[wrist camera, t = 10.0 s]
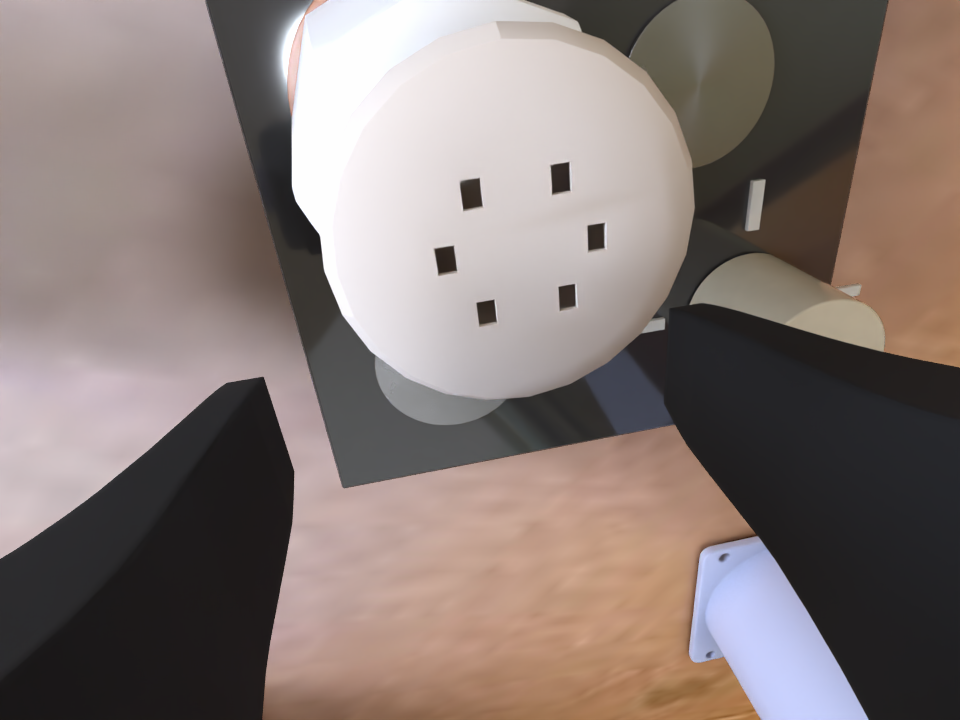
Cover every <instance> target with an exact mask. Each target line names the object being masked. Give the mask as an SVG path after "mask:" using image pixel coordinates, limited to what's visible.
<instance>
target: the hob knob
mask: <svg viewBox="0 0 960 720" xmlns="http://www.w3.org/2000/svg"><path fill="white" fill-rule="evenodd" d="M698 303H706V304H712V305H717V306H722V307H726V308H730V309H733V310H737V311H741V312H744V313H748V314H751V315H754V316H758V317H761V318H764V319H768V320H771V321H774V322H778V323H781V324H784V325H787V326H791V327H794V328H797V329H801V330H804V331H807V332H811V333H814V334H818V335H821V336H825V337H828V338H832V339H835V340H839V341H843V342H846V343H850V344H854V345H858V346H862V347H866V348H870V349H874V350H878V351H882V352H884V347H885V331H884V327H883V323H882V321H881V319H880V317H879V316H878V314H877V313H876V312H875V311H874V310H873V309H872V308H871V307H870V306H868V305H866V304H865V303H863V302H861V301H859V300H857V299H855V298H853V297H852V296H850V295H848V294H846V293H844V292H842V291H840V290H838V289H837V288H835V287H833V286H831V285H829V284H827V283H825V282H823V281H822V280H820V279H818V278H816V277H814V276H812V275H810V274H808V273H807V272H805V271H803V270H801V269H799V268H797V267H795V266H793V265H792V264H790V263H788V262H786V261H784V260H782V259H780V258H778V257H776V256H774V255H771V254H765V253H752V254H746V255H741V256H738V257H736V258H733V259H731V260H729V261H727V262H725V263H724V264H722V265H720V266H719V267H718V268H716V269H715V270H714V271H712V272H711V273H710V274H709V275H708V276H707V277H706V278H705V279H704V281H703V282H702V283H701V284H700V286H699V287H698V289H697V290H696V292H695V294H694V295H693V297H692V300H691V302H690V304H689V305H692V304H698Z"/></svg>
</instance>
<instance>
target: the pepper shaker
mask: <svg viewBox="0 0 960 720" xmlns="http://www.w3.org/2000/svg"><path fill="white" fill-rule="evenodd" d="M292 189H293V192H294V196H295V200H296V202H297V204H298V205H299V206H300V208H301V209H302V211H303V212H304V214H305V215H306V217H307V218H308V220H309V221H310V222H311V224H312V225H313V226H314V228H315V229H316V231H317V232H318V233H319V235H320V239H321V248H322V256H323V265H324V272H325V274H326V276H327V279H328V281H329V284H330V286H331V289H332V291H333V293H334V296H335V298H336V301H337V303H338V306H339V308H340V310H341V313H342V315H343V317H344V318H345V319H346V320H347V322H348V323H349V324H350V326H351V327H352V328H353V329H354V331H355V332H356V333H357V335H358V336H359V337H360V338H361V340H362V341H363V342H364V344H365V345H366V346H367V347H368V349H369V350H370V351H371V352H372V353H373V354H375V355H376V356H377V357H379V358H380V359H381V360H383V361H384V362H385V363H387V364H388V365H389V366H391V367H392V368H393V369H395V370H396V371H397V372H399V373H400V374H401V375H403V376H404V377H405V378H408V379H410V380H412V381H415V382H417V383H420V384H422V385H425V386H427V387H429V388H432V389H434V390H437V391H439V392H442V393H444V394H449V395H455V396H462V397H469V398H475V399H482V400H496V399H508V398H520V397H530V396H533V395H537V394H540V393H543V392H546V391H549V390H553V389H556V388H559V387H562V386H565V385H569V384H571V383H573V382H575V381H576V380H578V379H580V378H582V377H583V376H585V375H587V374H589V373H590V372H592V371H594V370H596V369H597V368H599V367H601V366H603V365H605V364H606V363H608V362H609V361H610V360H611V359H612V358H614V357H615V356H616V355H617V354H618V353H619V352H620V351H621V350H623V349H624V348H625V347H626V346H627V345H628V344H629V343H630V342H632V341H633V340H634V339H635V338H636V337H637V336H638V335H639V334H641V332H642V331H643V330H644V328H645V327H646V326H647V324H648V323H649V321H650V320H651V319H652V317H653V316H654V315H655V313H656V312H657V311H658V309H659V308H660V306H661V305H662V304H663V302H664V301H665V300H666V298H667V297H668V295H669V292H670V290H671V288H672V286H673V283H674V281H675V279H676V276H677V274H678V272H679V270H680V267H681V265H682V263H683V261H684V258H685V256H686V253H687V247H688V242H689V236H690V231H691V226H692V220H693V215H694V209H695V204H694V188H693V173H692V159H691V156H690V153H689V151H688V148H687V145H686V142H685V139H684V136H683V133H682V130H681V127H680V124H679V121H678V119H677V116H676V113H675V111H674V110H673V109H672V107H671V106H670V104H669V103H668V102H667V100H666V99H665V97H664V96H663V95H662V93H661V92H660V90H659V89H658V88H657V86H656V85H655V83H654V82H653V81H652V79H651V78H650V76H649V75H648V74H647V72H646V71H645V70H643V69H642V68H641V67H639V66H638V65H637V64H635V63H634V62H633V61H631V60H630V59H629V58H627V57H626V56H625V55H623V54H622V53H621V52H619V51H618V50H617V49H615V48H614V47H613V46H612V45H610V44H609V43H608V42H606V41H605V40H603V39H600V38H597V37H594V36H591V35H588V34H585V33H583V32H582V31H581V28H580V26H579V23H578V21H576V20H574V19H572V18H570V17H569V16H567V15H565V14H563V13H560V12H557V11H554V10H551V9H548V8H546V7H543V6H540V5H537V4H534V3H531V2H528V1H526V0H328V1H326V2H325V3H323V4H322V5H320V6H319V7H317V8H316V9H314V10H313V11H312V12H310V13H309V14H307V15H306V16H305V21H304V28H303V36H302V44H301V51H300V59H299V67H298V74H297V82H296V90H295V97H294V105H293V113H292Z"/></svg>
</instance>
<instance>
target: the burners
mask: <svg viewBox="0 0 960 720" xmlns="http://www.w3.org/2000/svg"><path fill="white" fill-rule="evenodd" d="M326 1H328V0H314V1H313V2H312V3H311V5H310V6H309V8H308V9H307V10H306V12H305V14H304V16H303V18H302V20H301V22H300V24H299V26H298V29H297V31H296V34H295V37H294V40H293V43H292V47H291V52H290V57H289V62H288V75H287V87H288V100H289V106H290V112H291V117H292V113H293V105H294V97H295V90H296V82H297V74H298V67H299V59H300V51H301V44H302V36H303V28H304V21H305V16H306V15H307V14H309V13H310V12H312V11H313V10H314V9H316V8H317V7H319V6H320V5H322V4H323V3H325V2H326ZM626 57H627V58H629V59H630V60H631V61H633V62H634V63H635V64H637V65H638V66H639V67H641V68H642V69H643V70H645V71H646V72H647V74H648V75H649V76H650V78H651V79H652V81H653V82H654V83H655V85H656V86H657V88H658V89H659V90H660V92H661V93H662V95H663V96H664V97H665V99H666V100H667V102H668V103H669V104H670V106H671V107H672V109H673V110H674V111H675V113H676V116H677V119H678V121H679V124H680V127H681V130H682V133H683V136H684V139H685V142H686V145H687V148H688V151H689V153H690V156H691V159H692V168H697V167H701V166H704V165H707V164H710V163H712V162H714V161H716V160H718V159H720V158H722V157H723V156H725V155H726V154H728V153H729V152H731V151H732V150H733V149H734V148H735V147H737V146H738V145H739V144H740V143H741V142H742V141H743V140H744V139H745V138H746V136H747V135H748V134H749V133H750V131H751V130H752V129H753V127H754V126H755V124H756V123H757V121H758V120H759V118H760V116H761V114H762V112H763V110H764V108H765V106H766V103H767V101H768V98H769V95H770V91H771V88H772V83H773V78H774V67H775V59H774V48H773V42H772V39H771V35H770V32H769V30H768V27H767V25H766V23H765V21H764V20H763V18H762V17H761V15H760V13H759V12H758V11H757V10H756V9H755V8H754V7H753V6H752V5H751V4H750V3H748V2H747V1H746V0H674V1H672V2H670V3H669V4H667V5H666V6H664V7H663V8H662V9H660V10H659V11H658V12H657V13H656V14H655V15H654V16H652V17H651V19H650V20H649V21H648V22H647V23H646V24H645V25H644V26H643V28H642V29H641V31H640V32H639V33H638V35H637V36H636V38H635V40H634V42H633V43H632V45H631V47H630V49H629V51H628V54H627V56H626ZM374 367H375V374H376V378H377V381H378V384H379V386H380V388H381V391H382V392H383V394H384V395H385V397H386V398H387V400H388V401H389V402H390V403H391V404H392V405H393V406H394V407H395V408H397V409H398V410H399V411H400V412H402V413H403V414H405V415H406V416H408V417H411V418H413V419H415V420H418V421H421V422H424V423H428V424H433V425H456V424H462V423H466V422H470V421H473V420H476V419H479V418H481V417H483V416H485V415H487V414H488V413H490V412H492V411H493V410H495V409H496V408H497V407H499V406H500V405H501V404H502V403H503V402H504V401H505V400H506V399H496V400H482V399H475V398H469V397H462V396H455V395H449V394H444V393H442V392H439V391H437V390H434V389H432V388H429V387H427V386H425V385H422V384H420V383H417V382H415V381H412V380H410V379H408V378H405V377H404V376H403V375H401V374H400V373H399V372H397V371H396V370H395V369H393V368H392V367H391V366H389V365H388V364H387V363H385V362H384V361H383V360H381V359H380V358H379V357H377V356H376V355H375V354H374Z"/></svg>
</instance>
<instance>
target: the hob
mask: <svg viewBox="0 0 960 720" xmlns="http://www.w3.org/2000/svg"><path fill="white" fill-rule="evenodd" d="M313 1H314V0H205V2H206V6H207V10H208V13H209V17H210V20H211V24H212V27H213V31H214V34H215V38H216V41H217V45H218V49H219V52H220V56H221V59H222V63H223V66H224V70H225V73H226V77H227V80H228V84H229V87H230V91H231V95H232V98H233V102H234V105H235V109H236V112H237V116H238V119H239V123H240V126H241V130H242V134H243V137H244V141H245V144H246V148H247V151H248V155H249V158H250V162H251V165H252V169H253V172H254V176H255V180H256V183H257V187H258V190H259V194H260V197H261V201H262V204H263V208H264V211H265V215H266V219H267V222H268V226H269V229H270V233H271V236H272V240H273V243H274V247H275V250H276V254H277V258H278V261H279V265H280V268H281V272H282V275H283V279H284V282H285V286H286V289H287V293H288V296H289V300H290V304H291V307H292V311H293V314H294V318H295V321H296V325H297V328H298V332H299V335H300V339H301V343H302V346H303V350H304V353H305V357H306V360H307V364H308V367H309V371H310V374H311V378H312V381H313V385H314V389H315V392H316V396H317V399H318V403H319V406H320V410H321V413H322V417H323V420H324V424H325V428H326V431H327V435H328V438H329V442H330V445H331V449H332V452H333V456H334V459H335V463H336V467H337V470H338V474H339V477H340V481H341V484H342V487H343V488H348V487H354V486H359V485H364V484H369V483H374V482H380V481H385V480H390V479H395V478H400V477H405V476H411V475H416V474H421V473H426V472H431V471H437V470H442V469H447V468H452V467H457V466H463V465H468V464H473V463H478V462H483V461H489V460H494V459H499V458H504V457H509V456H514V455H520V454H525V453H530V452H535V451H540V450H546V449H551V448H556V447H561V446H566V445H572V444H577V443H582V442H587V441H592V440H597V439H603V438H608V437H613V436H618V435H623V434H629V433H634V432H639V431H644V430H649V429H655V428H660V427H665V426H670V425H675V423H674V422H673V420H672V418H671V416H670V414H669V412H668V410H667V408H666V407H665V405H664V389H665V373H666V357H667V341H668V325H669V308H674V307H680V306H686V305H689V304H690V302H691V300H692V297H693V295H694V294H695V292H696V290H697V289H698V287H699V286H700V284H701V283H702V282H703V281H704V279H705V278H706V277H707V276H708V275H709V274H710V273H711V272H712V271H714V270H715V269H716V268H718V267H719V266H720V265H722V264H724V263H725V262H727V261H729V260H731V259H733V258H736V257H738V256H741V255H746V254H752V253H765V254H771V255H774V256H776V257H778V258H780V259H782V260H784V261H786V262H788V263H790V264H792V265H793V266H795V267H797V268H799V269H801V270H803V271H805V272H807V273H808V274H810V275H812V276H814V277H816V278H818V279H820V280H822V281H823V282H825V283H827V284H829V285H831V282H832V277H833V272H834V267H835V262H836V257H837V252H838V247H839V243H840V238H841V233H842V228H843V223H844V218H845V213H846V208H847V203H848V198H849V193H850V188H851V183H852V179H853V174H854V169H855V164H856V159H857V154H858V149H859V144H860V139H861V134H862V129H863V124H864V119H865V115H866V110H867V105H868V100H869V95H870V90H871V85H872V80H873V75H874V70H875V65H876V60H877V56H878V51H879V46H880V41H881V36H882V31H883V26H884V21H885V16H886V11H887V6H888V1H889V0H746V1H747V2H748V3H750V4H751V5H752V6H753V7H754V8H755V9H756V10H757V11H758V12H759V13H760V15H761V17H762V18H763V20H764V21H765V23H766V25H767V27H768V30H769V32H770V35H771V39H772V42H773V48H774V59H775V67H774V78H773V83H772V88H771V91H770V95H769V98H768V101H767V103H766V106H765V108H764V110H763V112H762V114H761V116H760V118H759V120H758V121H757V123H756V124H755V126H754V127H753V129H752V130H751V131H750V133H749V134H748V135H747V136H746V138H745V139H744V140H743V141H742V142H741V143H740V144H739V145H738V146H737V147H735V148H734V149H733V150H732V151H731V152H729V153H728V154H726V155H725V156H723V157H722V158H720V159H718V160H716V161H714V162H712V163H710V164H707V165H704V166H701V167H697V168H692V173H693V188H694V204H695V209H694V215H693V220H692V226H691V231H690V236H689V242H688V247H687V253H686V256H685V258H684V261H683V263H682V265H681V267H680V270H679V272H678V274H677V276H676V279H675V281H674V283H673V286H672V288H671V290H670V292H669V295H668V297H667V298H666V300H665V301H664V302H663V304H662V305H661V306H660V308H659V309H658V311H657V312H656V313H655V315H654V316H653V317H652V319H651V320H650V321H649V323H648V324H647V326H646V327H645V328H644V330H643V331H642V332H641V334H639V335H638V336H637V337H636V338H635V339H634V340H633V341H632V342H630V343H629V344H628V345H627V346H626V347H625V348H624V349H623V350H621V351H620V352H619V353H618V354H617V355H616V356H615V357H614V358H612V359H611V360H610V361H609V362H608V363H606V364H605V365H603V366H601V367H599V368H597V369H596V370H594V371H592V372H590V373H589V374H587V375H585V376H583V377H582V378H580V379H578V380H576V381H575V382H573V383H571V384H569V385H565V386H562V387H559V388H556V389H553V390H549V391H546V392H543V393H540V394H537V395H533V396H530V397H520V398H508V399H506V400H505V401H504V402H503V403H502V404H501V405H500V406H499V407H497V408H496V409H495V410H493V411H492V412H490V413H488V414H487V415H485V416H483V417H481V418H479V419H476V420H473V421H470V422H466V423H462V424H456V425H433V424H428V423H424V422H421V421H418V420H415V419H413V418H411V417H408V416H406V415H405V414H403V413H402V412H400V411H399V410H398V409H397V408H395V407H394V406H393V405H392V404H391V403H390V402H389V401H388V400H387V398H386V397H385V395H384V394H383V392H382V391H381V388H380V386H379V384H378V381H377V378H376V374H375V367H374V354H373V353H372V352H371V351H370V350H369V349H368V347H367V346H366V345H365V344H364V342H363V341H362V340H361V338H360V337H359V336H358V335H357V333H356V332H355V331H354V329H353V328H352V327H351V326H350V324H349V323H348V322H347V320H346V319H345V318H344V317H343V315H342V313H341V310H340V308H339V306H338V303H337V301H336V298H335V296H334V293H333V291H332V289H331V286H330V284H329V281H328V279H327V276H326V274H325V272H324V265H323V256H322V248H321V239H320V235H319V233H318V232H317V231H316V229H315V228H314V226H313V225H312V224H311V222H310V221H309V220H308V218H307V217H306V215H305V214H304V212H303V211H302V209H301V208H300V206H299V205H298V204H297V202H296V200H295V196H294V192H293V189H292V117H291V112H290V106H289V100H288V87H287V75H288V62H289V57H290V52H291V47H292V43H293V40H294V37H295V34H296V31H297V29H298V26H299V24H300V22H301V20H302V18H303V16H304V14H305V12H306V10H307V9H308V8H309V6H310V5H311V3H312V2H313ZM526 1H528V2H531V3H534V4H537V5H540V6H543V7H546V8H548V9H551V10H554V11H557V12H560V13H563V14H565V15H567V16H569V17H570V18H572V19H574V20H576V21H578V23H579V26H580V28H581V31H582V32H583V33H585V34H588V35H591V36H594V37H597V38H600V39H603V40H605V41H606V42H608V43H609V44H610V45H612V46H613V47H614V48H615V49H617V50H618V51H619V52H621V53H622V54H623V55H625V56H627V54H628V51H629V49H630V47H631V45H632V43H633V42H634V40H635V38H636V36H637V35H638V33H639V32H640V31H641V29H642V28H643V26H644V25H645V24H646V23H647V22H648V21H649V20H650V19H651V17H652V16H654V15H655V14H656V13H657V12H658V11H659V10H660V9H662V8H663V7H664V6H666V5H667V4H669V3H670V2H672V1H674V0H526ZM835 288H837V289H838V290H840V291H842V292H844V293H846V294H848V295H850V296H858V295H859V294H860V290H861V284H859V283H856V284H851V285H845V286H839V287H835Z"/></svg>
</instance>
